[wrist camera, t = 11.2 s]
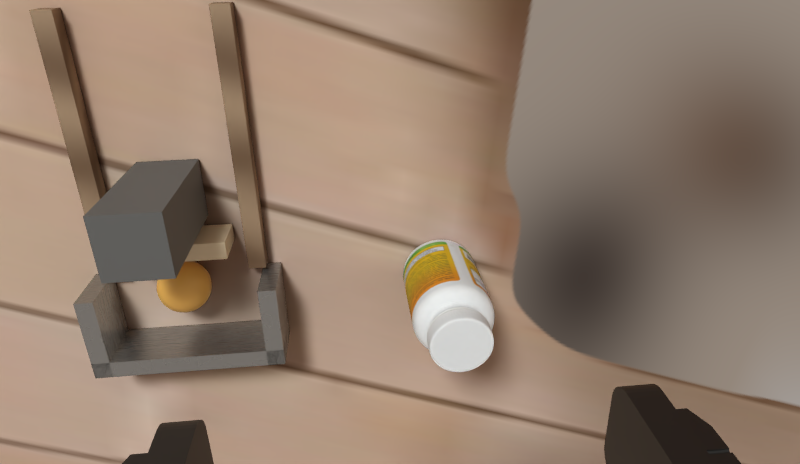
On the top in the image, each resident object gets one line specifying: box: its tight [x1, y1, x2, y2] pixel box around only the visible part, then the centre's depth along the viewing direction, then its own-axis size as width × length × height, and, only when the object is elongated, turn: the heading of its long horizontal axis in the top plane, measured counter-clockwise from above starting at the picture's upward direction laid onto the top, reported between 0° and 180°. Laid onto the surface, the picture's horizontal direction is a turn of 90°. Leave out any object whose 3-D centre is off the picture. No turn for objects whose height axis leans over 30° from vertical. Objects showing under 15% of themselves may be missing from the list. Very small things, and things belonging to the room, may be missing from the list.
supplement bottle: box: [403, 240, 494, 372], centre depth 40 cm, size 5×5×10 cm
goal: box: [73, 262, 290, 378], centre depth 42 cm, size 6×13×4 cm, turn 91°
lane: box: [29, 2, 268, 268], centre depth 39 cm, size 17×11×1 cm, turn 2°
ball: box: [157, 261, 212, 312], centre depth 41 cm, size 4×4×4 cm
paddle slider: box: [83, 159, 235, 283], centre depth 37 cm, size 6×7×9 cm
